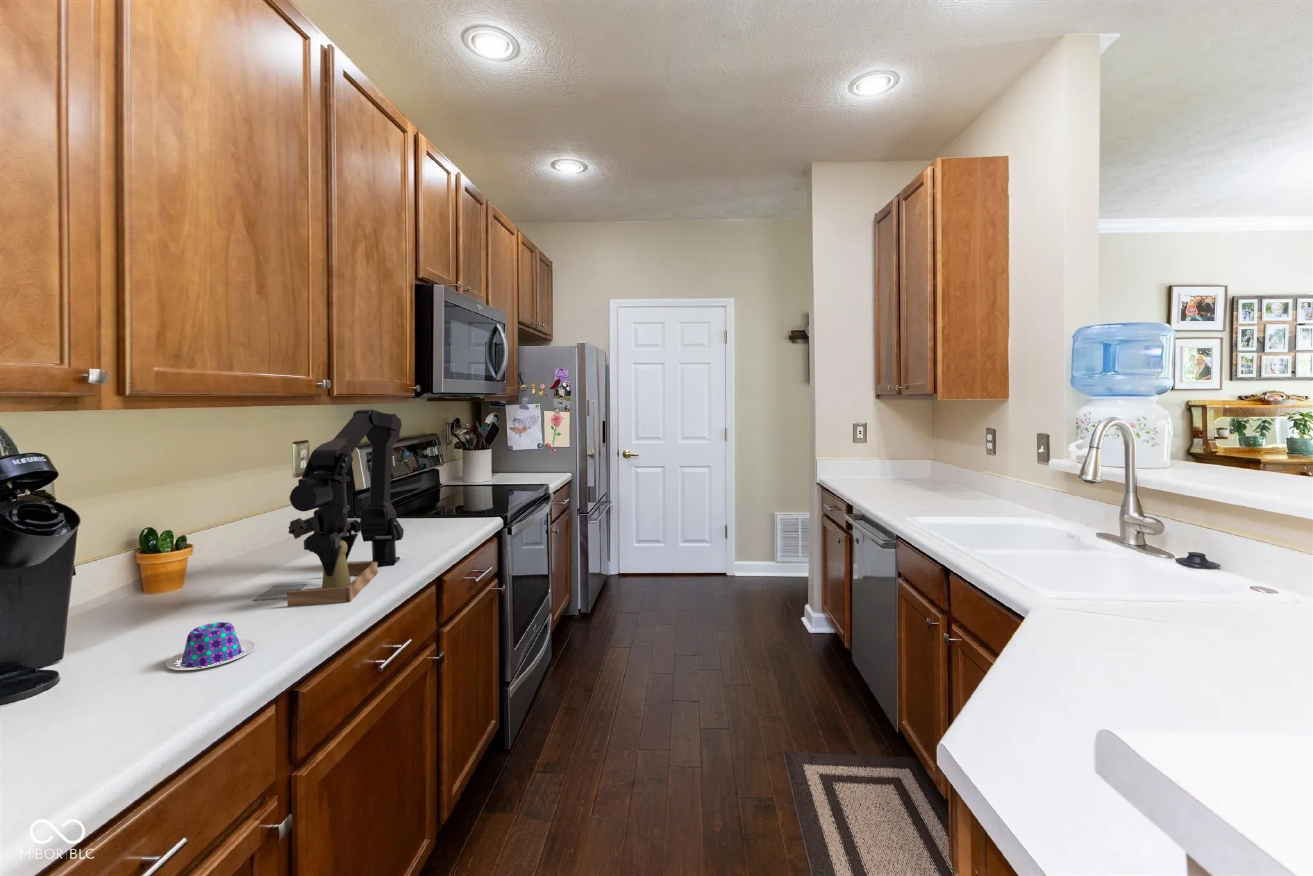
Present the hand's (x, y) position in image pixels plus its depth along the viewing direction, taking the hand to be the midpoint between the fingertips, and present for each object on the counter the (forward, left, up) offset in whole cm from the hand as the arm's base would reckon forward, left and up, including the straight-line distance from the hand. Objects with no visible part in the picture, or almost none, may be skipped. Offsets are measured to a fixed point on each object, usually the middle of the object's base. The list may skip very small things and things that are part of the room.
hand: (335, 571), depth 134 cm
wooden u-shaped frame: (0, 0, -4) cm, 4 cm away
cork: (0, 0, -4) cm, 4 cm away
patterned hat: (+35, -8, -5) cm, 36 cm away
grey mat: (0, -12, -4) cm, 12 cm away
